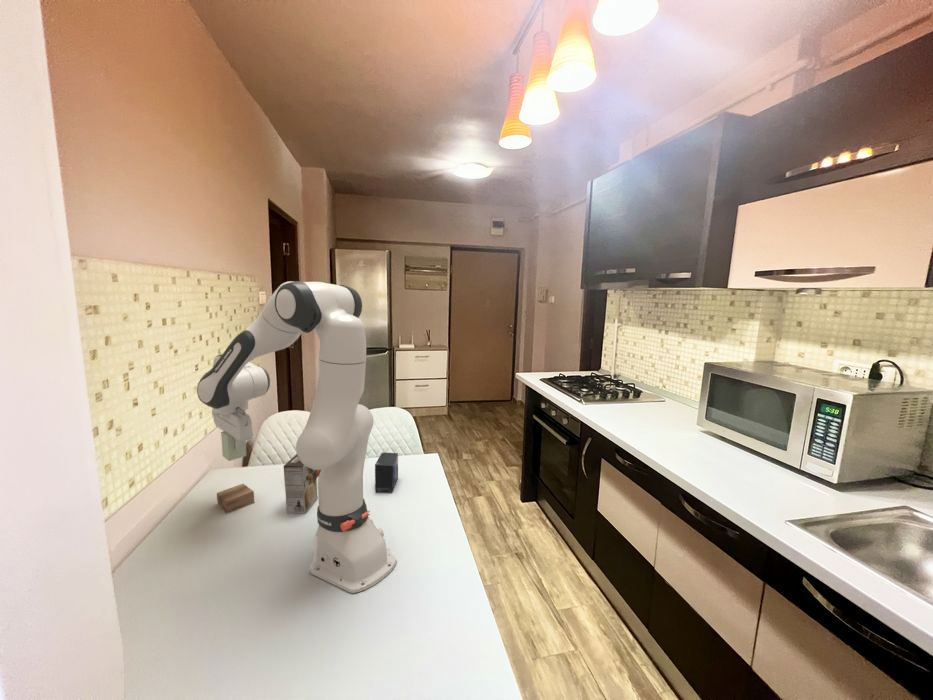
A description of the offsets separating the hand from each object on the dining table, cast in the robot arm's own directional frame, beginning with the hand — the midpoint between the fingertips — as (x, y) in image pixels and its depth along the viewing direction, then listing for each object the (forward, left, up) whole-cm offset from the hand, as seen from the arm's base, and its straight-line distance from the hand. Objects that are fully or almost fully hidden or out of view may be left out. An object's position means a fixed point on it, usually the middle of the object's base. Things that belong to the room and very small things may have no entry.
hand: (234, 446), depth 120 cm
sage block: (0, 0, -3) cm, 3 cm away
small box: (-26, -39, -21) cm, 51 cm away
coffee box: (-15, -13, -21) cm, 29 cm away
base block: (+3, 0, -20) cm, 21 cm away
